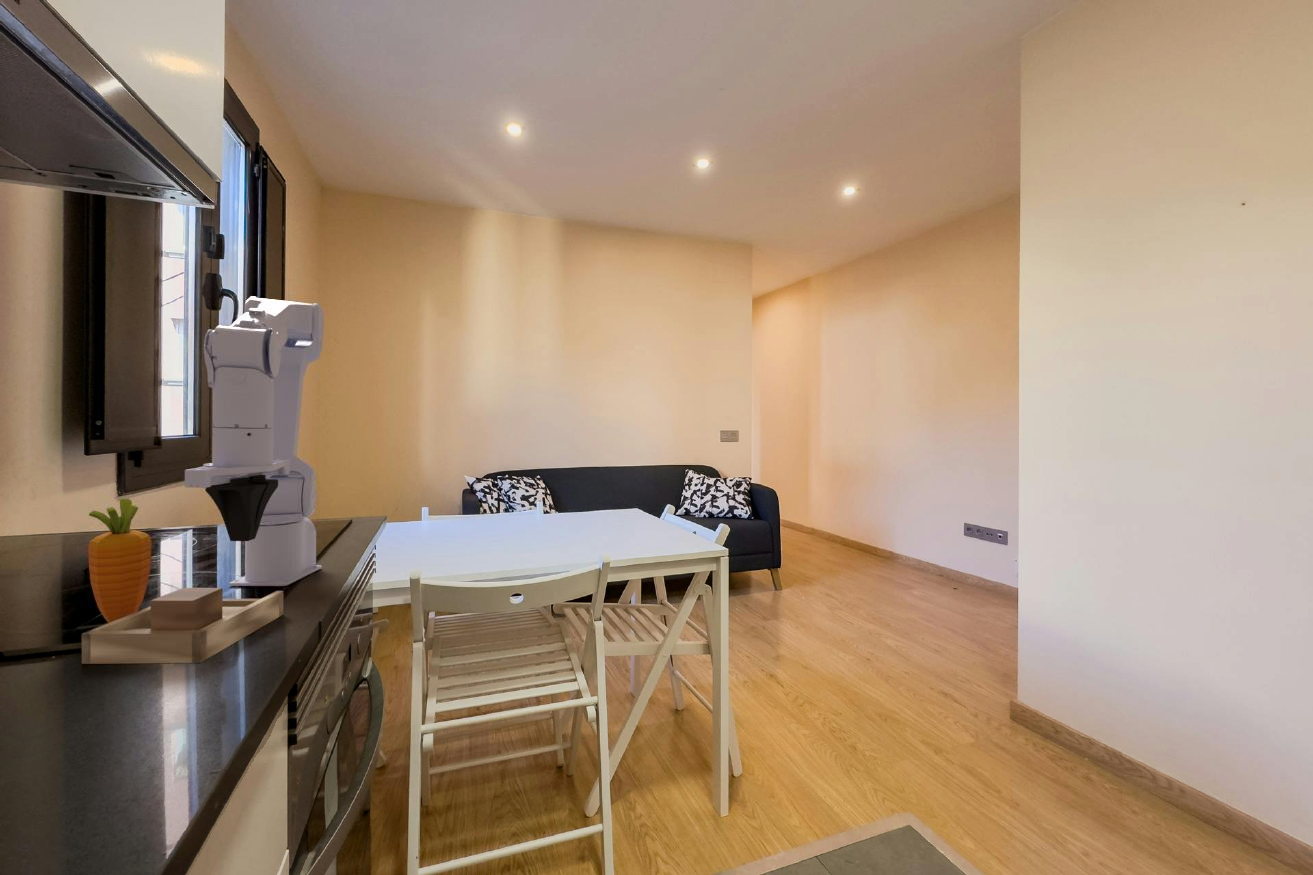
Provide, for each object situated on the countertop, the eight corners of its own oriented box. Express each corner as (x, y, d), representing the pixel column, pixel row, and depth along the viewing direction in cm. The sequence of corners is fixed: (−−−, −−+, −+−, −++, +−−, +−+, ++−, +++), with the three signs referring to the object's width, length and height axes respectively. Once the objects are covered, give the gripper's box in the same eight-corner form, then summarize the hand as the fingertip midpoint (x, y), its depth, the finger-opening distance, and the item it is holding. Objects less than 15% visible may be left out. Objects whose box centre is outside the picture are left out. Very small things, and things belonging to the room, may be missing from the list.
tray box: (189, 614, 64) (189, 590, 64) (283, 614, 65) (283, 590, 65) (81, 663, 51) (81, 633, 51) (200, 662, 52) (200, 633, 52)
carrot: (118, 641, 56) (118, 504, 56) (74, 639, 56) (73, 502, 56) (163, 623, 61) (163, 497, 61) (122, 621, 61) (122, 496, 61)
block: (183, 623, 56) (183, 587, 56) (222, 623, 57) (222, 587, 57) (150, 639, 52) (150, 600, 52) (192, 639, 53) (192, 600, 53)
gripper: (250, 426, 69) (250, 526, 69) (154, 427, 54) (153, 555, 55) (306, 427, 69) (305, 527, 70) (225, 429, 55) (224, 555, 55)
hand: (242, 539), depth 62 cm, fingers closed
